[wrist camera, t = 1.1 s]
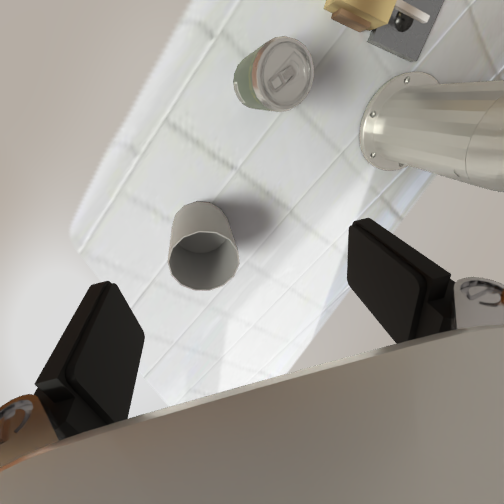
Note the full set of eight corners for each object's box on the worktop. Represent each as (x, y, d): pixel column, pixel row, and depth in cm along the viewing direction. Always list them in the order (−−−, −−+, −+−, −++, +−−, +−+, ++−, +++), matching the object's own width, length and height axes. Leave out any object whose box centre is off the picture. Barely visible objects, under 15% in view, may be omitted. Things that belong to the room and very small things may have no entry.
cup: (218, 193, 37) (227, 221, 29) (235, 240, 42) (247, 276, 33) (162, 213, 37) (154, 247, 29) (185, 258, 41) (185, 299, 33)
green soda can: (249, 118, 33) (275, 125, 23) (223, 76, 31) (241, 64, 20) (283, 90, 33) (326, 85, 22) (260, 44, 30) (297, 15, 20)
